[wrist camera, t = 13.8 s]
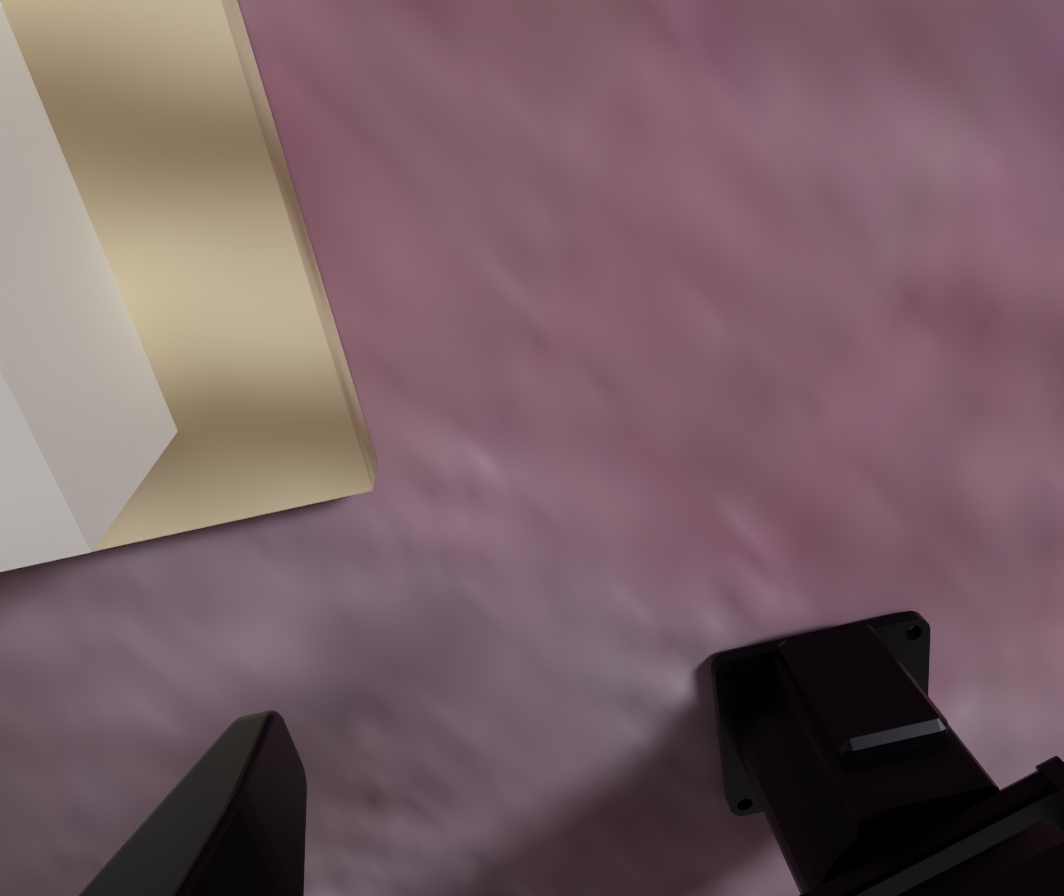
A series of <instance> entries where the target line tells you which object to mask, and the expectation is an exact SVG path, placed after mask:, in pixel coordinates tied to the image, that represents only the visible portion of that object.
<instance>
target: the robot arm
mask: <svg viewBox="0 0 1064 896" xmlns="http://www.w3.org/2000/svg"><path fill="white" fill-rule="evenodd" d="M913 626H914V627H913ZM911 627H913V628H912V629H911V630H909V631H907V630H908V629H909V628H911ZM906 631H907V632H906ZM929 651H930V626H929V624H928V623H927V622H926V620H925V619H924V618H923V617H922V616H921V615H920V614H919V613H918V612H914V611H907V612H902V613H898V614H893V615H889V616H884V617H880V618H875V619H871V620H866V621H862V622H857V623H853V624H848V625H844V626H839V627H835V628H830V629H826V630H822V631H817V632H813V633H808V634H804V635H799V636H795V637H790V638H786V639H781V640H777V641H772V642H768V643H763V644H759V645H754V646H750V647H745V648H741V649H736V650H732V651H728V652H724V653H722V654H720V655H718V656H717V657H716V658H715V659H714V660H713V662H712V665H711V673H712V681H713V690H714V699H715V707H716V716H717V725H718V733H719V742H720V751H721V759H722V768H723V777H724V785H725V794H726V799H727V802H728V804H729V807H730V809H731V812H732V813H734V814H735V815H739V816H744V815H750V814H754V813H758V812H763V811H764V813H765V816H766V818H767V820H768V822H769V824H770V827H771V829H772V831H773V833H774V836H775V838H776V840H777V842H778V845H779V847H780V849H781V851H782V854H783V856H784V858H785V860H786V863H787V865H788V867H789V869H790V872H791V874H792V876H793V878H794V880H795V883H796V885H797V887H798V889H799V892H800V894H801V895H799V896H1064V762H1063V761H1062V760H1061V759H1060V758H1059V757H1057V756H1054V757H1053V758H1051V759H1049V760H1047V761H1045V762H1043V763H1041V764H1039V765H1037V766H1035V767H1036V769H1037V771H1035V772H1033V773H1032V774H1030V775H1028V776H1026V777H1024V778H1022V779H1020V780H1018V781H1016V782H1014V783H1013V784H1011V785H1009V786H1007V787H1005V788H1003V789H1001V790H999V788H998V787H997V785H996V784H995V783H994V782H993V780H992V779H991V778H990V777H989V775H988V774H987V773H986V771H985V770H984V769H983V768H982V766H981V765H980V764H979V763H978V761H977V760H976V759H975V758H974V756H973V755H972V754H971V752H970V751H969V750H968V749H967V747H966V746H965V745H964V744H963V742H962V741H961V740H960V739H959V737H958V736H957V735H956V733H955V732H954V731H953V730H952V728H951V727H950V726H949V725H948V723H947V720H946V719H945V717H944V716H943V715H942V713H941V712H940V711H939V710H938V708H937V707H936V706H935V705H934V703H933V702H932V701H931V700H930V698H929V697H928V679H929ZM730 667H734V668H733V669H732V670H731V671H728V672H725V671H726V669H728V668H730ZM306 798H307V784H306V776H305V771H304V767H303V764H302V762H301V759H300V757H299V755H298V752H297V750H296V748H295V745H294V743H293V741H292V738H291V736H290V733H289V731H288V729H287V726H286V724H285V722H284V720H283V718H282V717H281V715H280V714H279V713H278V712H275V711H266V712H261V713H257V714H252V715H247V716H243V717H240V718H238V719H236V720H235V721H234V722H233V723H232V724H231V725H230V726H229V727H228V728H227V729H226V730H225V732H224V733H223V734H222V735H221V736H220V737H219V738H218V739H217V741H216V742H215V743H214V744H213V745H212V746H211V747H210V748H209V750H208V751H207V752H206V753H205V754H204V755H203V756H202V757H201V759H200V760H199V761H198V762H197V763H196V764H195V765H194V766H193V768H192V769H191V770H190V771H189V772H188V773H187V774H186V775H185V776H184V778H183V779H182V780H181V781H180V782H179V783H178V784H177V785H176V787H175V788H174V789H173V790H172V791H171V792H170V793H169V794H168V796H167V797H166V798H165V799H164V800H163V801H162V802H161V803H160V805H159V806H158V807H157V808H156V809H155V810H154V811H153V812H152V814H151V815H150V816H149V817H148V818H147V819H146V820H145V821H144V823H143V824H142V825H141V826H140V827H139V828H138V829H137V830H136V832H135V833H134V834H133V835H132V836H131V837H130V838H129V839H128V841H127V842H126V843H125V844H124V845H123V846H122V847H121V848H120V850H119V851H118V852H117V853H116V854H115V855H114V856H113V857H112V859H111V860H110V861H109V862H108V863H107V864H106V865H105V866H104V868H103V869H102V870H101V871H100V872H99V873H98V874H97V875H96V876H95V878H94V879H93V880H92V881H91V882H90V883H89V884H88V885H87V887H86V888H85V889H84V890H83V891H82V892H81V893H80V894H79V896H303V894H304V862H305V830H306Z"/></svg>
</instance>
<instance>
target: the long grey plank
mask: <svg viewBox="0 0 1064 896" xmlns="http://www.w3.org/2000/svg"><path fill="white" fill-rule="evenodd" d="M177 432H178V431H177V428H176V426H175V424H174V421H173V419H172V416H171V414H170V411H169V409H168V407H167V404H166V402H165V399H164V397H163V394H162V392H161V390H160V387H159V385H158V382H157V380H156V378H155V375H154V373H153V370H152V368H151V365H150V363H149V361H148V358H147V356H146V353H145V351H144V348H143V346H142V344H141V341H140V339H139V336H138V334H137V332H136V329H135V327H134V324H133V322H132V319H131V317H130V315H129V312H128V310H127V307H126V305H125V303H124V300H123V298H122V295H121V293H120V290H119V288H118V286H117V283H116V281H115V278H114V276H113V273H112V271H111V269H110V266H109V264H108V261H107V259H106V257H105V254H104V252H103V249H102V247H101V244H100V242H99V240H98V237H97V235H96V232H95V230H94V227H93V225H92V223H91V220H90V218H89V215H88V213H87V211H86V208H85V206H84V203H83V201H82V198H81V196H80V194H79V191H78V189H77V186H76V184H75V181H74V179H73V177H72V174H71V172H70V169H69V167H68V165H67V162H66V160H65V157H64V155H63V152H62V150H61V148H60V145H59V143H58V140H57V138H56V135H55V133H54V131H53V128H52V126H51V123H50V121H49V119H48V116H47V114H46V111H45V109H44V106H43V104H42V102H41V99H40V97H39V94H38V92H37V89H36V87H35V85H34V82H33V80H32V77H31V75H30V73H29V70H28V68H27V65H26V63H25V60H24V58H23V56H22V53H21V51H20V48H19V46H18V43H17V41H16V39H15V36H14V34H13V31H12V29H11V27H10V24H9V22H8V19H7V17H6V14H5V12H4V10H3V7H2V5H1V2H0V572H3V571H8V570H12V569H17V568H21V567H26V566H31V565H35V564H40V563H45V562H49V561H54V560H59V559H63V558H68V557H73V556H77V555H82V554H86V553H91V552H92V551H93V549H94V548H95V546H96V545H97V544H98V542H99V541H100V539H101V538H102V537H103V535H104V534H105V532H106V531H107V530H108V528H109V527H110V526H111V524H112V523H113V521H114V520H115V519H116V517H117V516H118V514H119V513H120V512H121V510H122V509H123V507H124V506H125V505H126V503H127V502H128V500H129V499H130V498H131V496H132V495H133V493H134V492H135V491H136V489H137V488H138V486H139V485H140V484H141V482H142V481H143V479H144V478H145V477H146V475H147V474H148V472H149V471H150V470H151V468H152V467H153V465H154V464H155V463H156V461H157V460H158V459H159V457H160V456H161V454H162V453H163V452H164V450H165V449H166V447H167V446H168V445H169V443H170V442H171V440H172V439H173V438H174V436H175V435H176V433H177Z"/></svg>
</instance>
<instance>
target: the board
mask: <svg viewBox="0 0 1064 896" xmlns="http://www.w3.org/2000/svg"><path fill="white" fill-rule="evenodd" d="M0 2H1V5H2V7H3V10H4V12H5V14H6V17H7V19H8V22H9V24H10V27H11V29H12V31H13V34H14V36H15V39H16V41H17V43H18V46H19V48H20V51H21V53H22V56H23V58H24V60H25V63H26V65H27V68H28V70H29V73H30V75H31V77H32V80H33V82H34V85H35V87H36V89H37V92H38V94H39V97H40V99H41V102H42V104H43V106H44V109H45V111H46V114H47V116H48V119H49V121H50V123H51V126H52V128H53V131H54V133H55V135H56V138H57V140H58V143H59V145H60V148H61V150H62V152H63V155H64V157H65V160H66V162H67V165H68V167H69V169H70V172H71V174H72V177H73V179H74V181H75V184H76V186H77V189H78V191H79V194H80V196H81V198H82V201H83V203H84V206H85V208H86V211H87V213H88V215H89V218H90V220H91V223H92V225H93V227H94V230H95V232H96V235H97V237H98V240H99V242H100V244H101V247H102V249H103V252H104V254H105V257H106V259H107V261H108V264H109V266H110V269H111V271H112V273H113V276H114V278H115V281H116V283H117V286H118V288H119V290H120V293H121V295H122V298H123V300H124V303H125V305H126V307H127V310H128V312H129V315H130V317H131V319H132V322H133V324H134V327H135V329H136V332H137V334H138V336H139V339H140V341H141V344H142V346H143V348H144V351H145V353H146V356H147V358H148V361H149V363H150V365H151V368H152V370H153V373H154V375H155V378H156V380H157V382H158V385H159V387H160V390H161V392H162V394H163V397H164V399H165V402H166V404H167V407H168V409H169V411H170V414H171V416H172V419H173V421H174V424H175V426H176V428H177V431H178V432H177V433H176V435H175V436H174V438H173V439H172V440H171V442H170V443H169V445H168V446H167V447H166V449H165V450H164V452H163V453H162V454H161V456H160V457H159V459H158V460H157V461H156V463H155V464H154V465H153V467H152V468H151V470H150V471H149V472H148V474H147V475H146V477H145V478H144V479H143V481H142V482H141V484H140V485H139V486H138V488H137V489H136V491H135V492H134V493H133V495H132V496H131V498H130V499H129V500H128V502H127V503H126V505H125V506H124V507H123V509H122V510H121V512H120V513H119V514H118V516H117V517H116V519H115V520H114V521H113V523H112V524H111V526H110V527H109V528H108V530H107V531H106V532H105V534H104V535H103V537H102V538H101V539H100V541H99V542H98V544H97V545H96V546H95V548H94V549H93V551H98V550H102V549H107V548H112V547H116V546H121V545H125V544H130V543H135V542H139V541H144V540H148V539H153V538H158V537H162V536H167V535H171V534H176V533H181V532H185V531H190V530H194V529H199V528H204V527H208V526H213V525H217V524H222V523H227V522H231V521H236V520H240V519H245V518H250V517H254V516H259V515H263V514H268V513H273V512H277V511H282V510H286V509H291V508H296V507H300V506H305V505H309V504H314V503H319V502H323V501H328V500H332V499H337V498H342V497H346V496H351V495H355V494H360V493H365V492H369V491H373V488H374V481H375V475H376V468H377V461H376V457H375V454H374V451H373V447H372V444H371V441H370V437H369V434H368V431H367V428H366V424H365V421H364V418H363V414H362V411H361V408H360V404H359V401H358V398H357V394H356V391H355V388H354V385H353V381H352V378H351V375H350V371H349V368H348V365H347V361H346V358H345V355H344V352H343V348H342V345H341V342H340V338H339V335H338V332H337V328H336V325H335V322H334V319H333V315H332V312H331V309H330V305H329V302H328V299H327V295H326V292H325V289H324V285H323V282H322V279H321V276H320V272H319V269H318V266H317V262H316V259H315V256H314V252H313V249H312V246H311V243H310V239H309V236H308V233H307V229H306V226H305V223H304V219H303V216H302V213H301V210H300V206H299V203H298V200H297V196H296V193H295V190H294V186H293V183H292V180H291V177H290V173H289V170H288V167H287V163H286V160H285V157H284V153H283V150H282V147H281V143H280V140H279V137H278V134H277V130H276V127H275V124H274V120H273V117H272V114H271V110H270V107H269V104H268V101H267V97H266V94H265V91H264V87H263V84H262V81H261V77H260V74H259V71H258V68H257V64H256V61H255V58H254V54H253V51H252V48H251V44H250V41H249V38H248V34H247V31H246V28H245V25H244V21H243V18H242V15H241V11H240V8H239V5H238V1H237V0H0ZM93 551H92V552H93Z"/></svg>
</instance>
